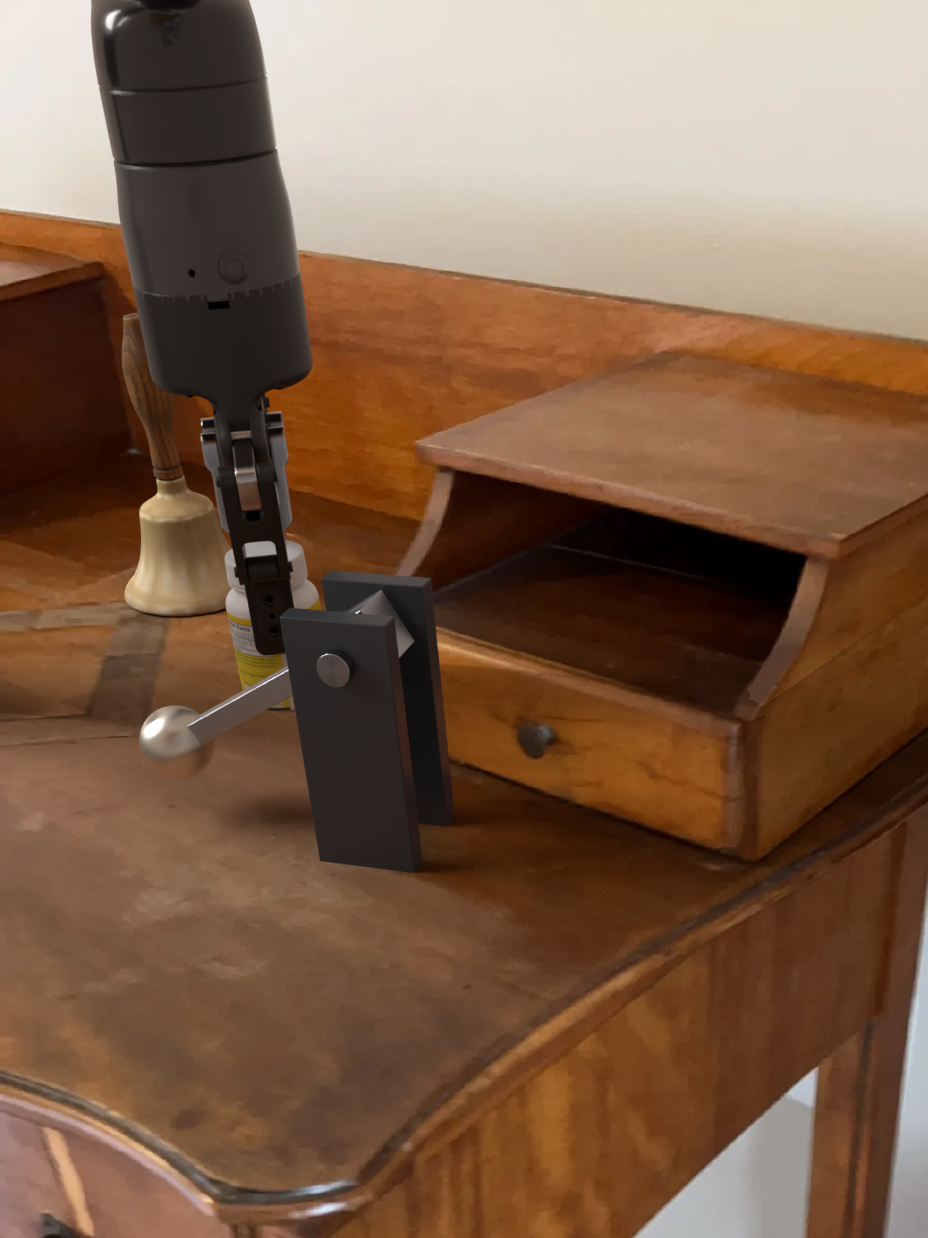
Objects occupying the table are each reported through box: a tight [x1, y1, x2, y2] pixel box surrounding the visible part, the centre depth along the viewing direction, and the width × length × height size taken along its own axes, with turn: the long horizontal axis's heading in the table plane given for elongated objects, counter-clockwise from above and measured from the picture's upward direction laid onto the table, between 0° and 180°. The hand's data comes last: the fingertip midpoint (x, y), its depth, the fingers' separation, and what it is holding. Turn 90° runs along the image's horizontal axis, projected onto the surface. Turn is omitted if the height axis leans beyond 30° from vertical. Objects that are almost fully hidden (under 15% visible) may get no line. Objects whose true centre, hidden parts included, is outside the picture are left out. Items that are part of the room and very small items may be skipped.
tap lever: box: [139, 590, 414, 781], centre depth 64 cm, size 14×3×3 cm, turn 74°
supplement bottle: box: [225, 539, 322, 712], centre depth 80 cm, size 5×5×8 cm
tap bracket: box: [280, 570, 456, 874], centre depth 64 cm, size 8×8×13 cm
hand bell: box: [121, 312, 232, 617], centre depth 91 cm, size 8×8×16 cm
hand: (277, 629), depth 79 cm, fingers closed on supplement bottle, 4 cm apart
